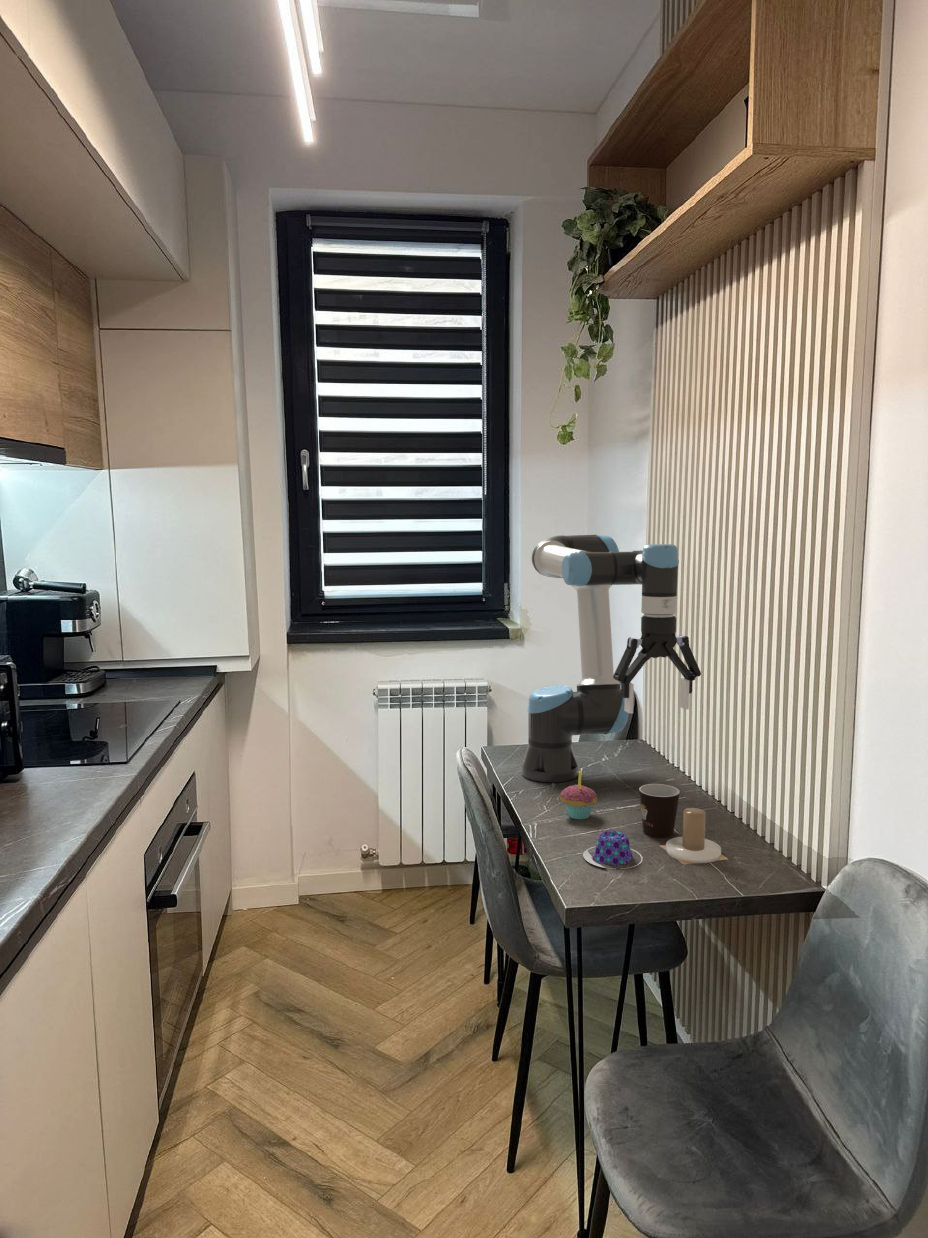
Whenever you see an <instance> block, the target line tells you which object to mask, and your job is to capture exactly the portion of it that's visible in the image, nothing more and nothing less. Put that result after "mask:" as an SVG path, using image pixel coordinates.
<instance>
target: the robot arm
mask: <svg viewBox="0 0 928 1238" xmlns="http://www.w3.org/2000/svg"><path fill="white" fill-rule="evenodd" d="M678 549H679V548H678V547H677V546H676V545H674V544H670V543H669V544H668V543H666V544H665V543H649V544H645V545H644V546H643V548H642V550H632V551H620V549H619V547H618V545H617V542H616V541H615V540H614V539H613V537H611V536H609V535H604V534H603V535H601V534H580V535H579V534H577V535H573V534H572V535H555V536H550V537H547V538H545V539H543V540H542V541H540V542H538V543H537V544H536V545H535V547H534V549H533V551H532V552H531V562H532V567H533V568H534V570H535V571H536V572H537V573H538V574H540V575H542V576H544V577H548V578H555V579H556V578H557V579H563V581H564V583H565V585H567V586H571V587H572V588H573V589H574V590H575V591H576V594H577V595H576V597H577V614H578V615H577V617H578V631H579V633H578V634H579V648H580V649H579V651H580V666H581V669H580V670H581V679H580V680H579V681H578V683H576V691H574V690H573V688H572V687H570V686H568V685H550V686H545V687H542V688H541V687H540V688H537V689H535V690H533V691H532V692H531V693H530V694H529V697H528V706H527V712H528V716H527V717H528V720H527V721H528V723H527V725H528V727H527V730H528V733H527V737H528V738H527V741H528V742H527V744H528V745H527V748H526V752H525V754H524V757H523V761H522V764H521V775H522V776H523V777H524V778H525V779H529V780H531V781H536V782H542V783H562V782H563V783H564V782H567V781H572V780H574V779H576V778H577V777H579V765H578V762H577V760H576V759H577V758H576V756H575V752H574V750H573V745H572V744H573V741H572V740H573V736H584V735H585V736H587V735H608V734H616V733H619V732H622V731H623V730H624V729H625V726H626V724H627V723H628V719H629V714H630V715H631V714H634V695H635V694H634V691H635V690H634V686H635V685H634V683H632V681H633V680H634V678H635V677H636V676H637V674H639V672H640V671H641V669H642V668H643V666H644V665H645V664H646V663H647V661H649V660H650V659H652V658H653V659H657V658H668V659H669V660H670V661H671V663H672V664H673V666H675V667H676V669H677V670H678V671H679V673H680V674H681V676H682V678H680V679H679V708H681V709H684V710H689V708H690V707H689V706H690V704H689V703H690V694H692V693H693V681H695V680H696V679H697V678H696V677H701V675H702V673H701V670H700V668H699V665H698V663H697V660H696V658H695V656H694V654H693V651H692V648H691V646H690V639H689V636H687V635H683V634H679V635H678V636H676V632H677V617H676V616H675V615H676V614H677V610H678V608H677V607H678V606H677V604H678V603H677V602H678V601H677V599H678V576H679V575H678V574H679V572H678V571H679V562H680V561H679V552H678ZM615 585H616V586H619V585H620V586H621V585H623V586H626V585H627V586H628V585H629V586H630V585H633V586H634V585H641V613H642V614H643V615H642V616H641V617H640V632H641V636H640V638H635V637H632V636H631V637H630V636H629V637H628V638H627V641H626V648H625V650H624V652H623V654H622V657H621V658H620V661H619V663H618V665H617V667H616V670H615V671H614V660H613V659H614V657H613V641H612V640H613V639H612V623H611V607H610V588H612V586H615ZM676 645H678V647H679V649H680V652H681V654H682V656H683V659H684V661H685V663H684V661H683V660H682V659H681V657H680V656H679V653H677V651H676V650H675V646H676ZM639 647H641V649H640V650H639V652H638V653H637V656H636V658H635V655H636V652H637V649H639ZM634 658H635V659H634ZM632 661H633V662H632Z"/></svg>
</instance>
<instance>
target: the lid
mask: <svg viewBox="0 0 928 1238" xmlns="http://www.w3.org/2000/svg"><path fill="white" fill-rule="evenodd" d="M682 813H683V815H682V817H683V818H682V835H681V836H675V837H673V838H670V839H668V840H667V841H666V843H665V845H666V851H665V852H666V854H668V856H670V857H671V858H673V859H676V860H677V859H678V860H681V861H685V862H690V863H695V864H707V863H708V864H709V863H713V862H717V861H716V860H718V859H719V858H720V857H721V854H722V848H721V846H720V845H719V844H718V843H716V842H715V841H712V840H710V839H707V838H705V837H706V816H707V815H706V814H707V813H706V811H705V809H704V810H703V809H701V808H698V807H687V808H684V809H683V811H682ZM678 860H677V861H678ZM718 861H719V860H718Z"/></svg>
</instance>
